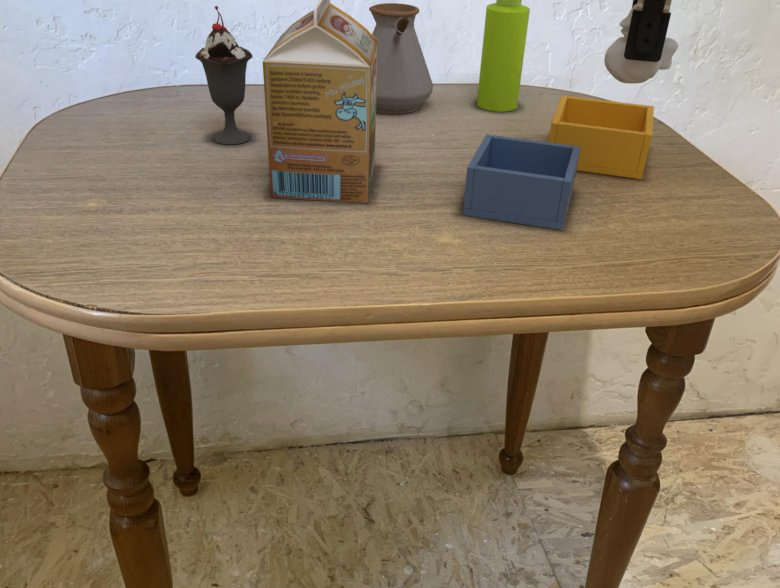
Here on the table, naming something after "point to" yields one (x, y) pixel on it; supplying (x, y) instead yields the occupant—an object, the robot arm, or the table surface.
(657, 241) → the table surface
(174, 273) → the table surface
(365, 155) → the milk carton
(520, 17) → the soap dispenser
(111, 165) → the table surface
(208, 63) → the sundae
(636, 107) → the mustard bin
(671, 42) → the grey rounded piece
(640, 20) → the robot arm
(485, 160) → the slate bin
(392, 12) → the coffee pot
